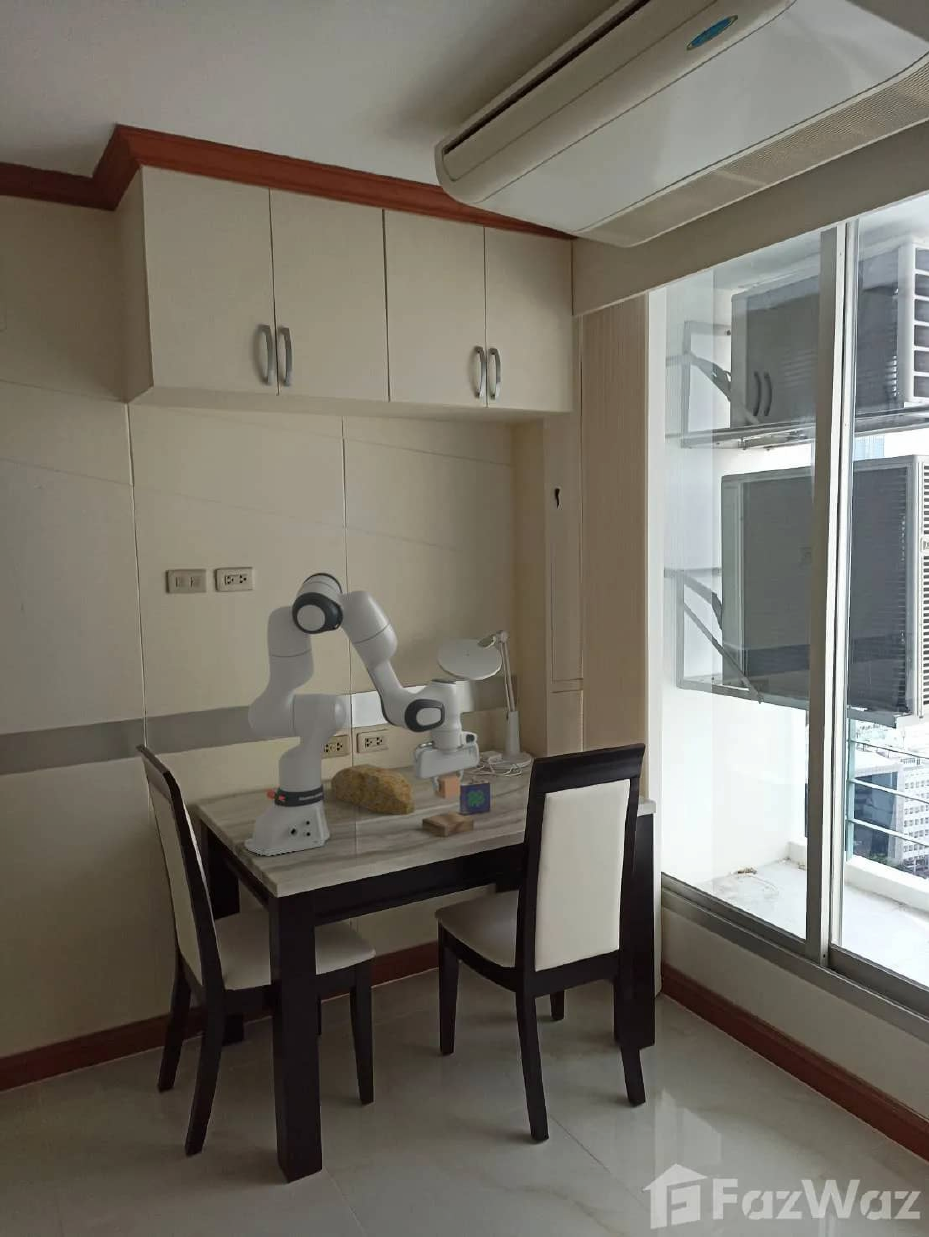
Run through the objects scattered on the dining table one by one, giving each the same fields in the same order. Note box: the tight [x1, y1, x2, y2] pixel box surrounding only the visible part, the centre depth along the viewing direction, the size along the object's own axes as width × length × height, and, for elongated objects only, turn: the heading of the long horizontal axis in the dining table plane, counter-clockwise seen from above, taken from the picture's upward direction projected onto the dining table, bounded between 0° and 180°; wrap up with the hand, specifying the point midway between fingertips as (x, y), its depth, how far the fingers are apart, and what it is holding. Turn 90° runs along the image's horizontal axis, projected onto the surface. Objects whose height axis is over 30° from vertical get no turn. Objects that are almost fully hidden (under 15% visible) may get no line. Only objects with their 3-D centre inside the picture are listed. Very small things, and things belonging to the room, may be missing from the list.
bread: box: [330, 763, 416, 816], centre depth 279 cm, size 36×11×10 cm, turn 44°
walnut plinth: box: [421, 810, 475, 838], centre depth 253 cm, size 10×10×3 cm
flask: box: [459, 775, 491, 817], centre depth 265 cm, size 9×3×11 cm, turn 109°
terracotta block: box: [433, 773, 461, 800], centre depth 251 cm, size 5×5×5 cm
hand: (447, 788), depth 251 cm, fingers closed on terracotta block, 5 cm apart
